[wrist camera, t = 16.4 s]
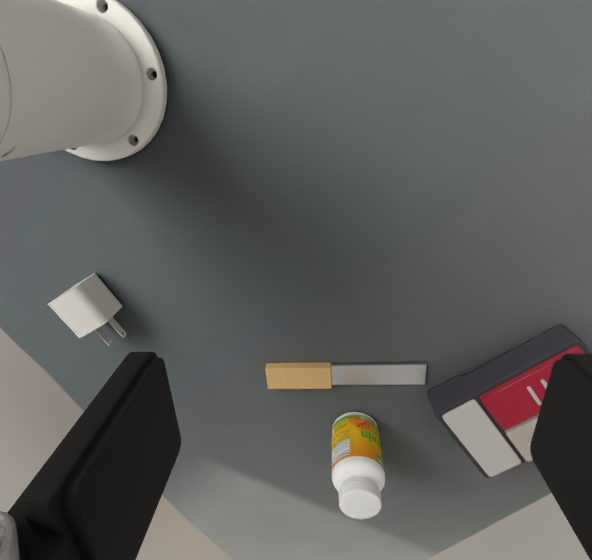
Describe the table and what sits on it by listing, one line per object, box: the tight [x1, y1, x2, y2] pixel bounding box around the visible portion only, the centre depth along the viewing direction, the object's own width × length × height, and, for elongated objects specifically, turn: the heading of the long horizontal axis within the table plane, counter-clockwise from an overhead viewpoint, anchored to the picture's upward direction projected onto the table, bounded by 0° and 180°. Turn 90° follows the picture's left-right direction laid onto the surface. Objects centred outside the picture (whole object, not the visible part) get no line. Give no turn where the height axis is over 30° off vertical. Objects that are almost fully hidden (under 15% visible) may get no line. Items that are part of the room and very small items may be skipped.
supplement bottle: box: [332, 412, 385, 519], centre depth 42 cm, size 5×5×10 cm
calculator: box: [427, 325, 589, 478], centre depth 40 cm, size 11×4×15 cm
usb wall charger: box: [48, 273, 127, 346], centre depth 40 cm, size 4×7×4 cm, turn 31°
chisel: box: [265, 362, 427, 389], centre depth 42 cm, size 17×3×1 cm, turn 94°
